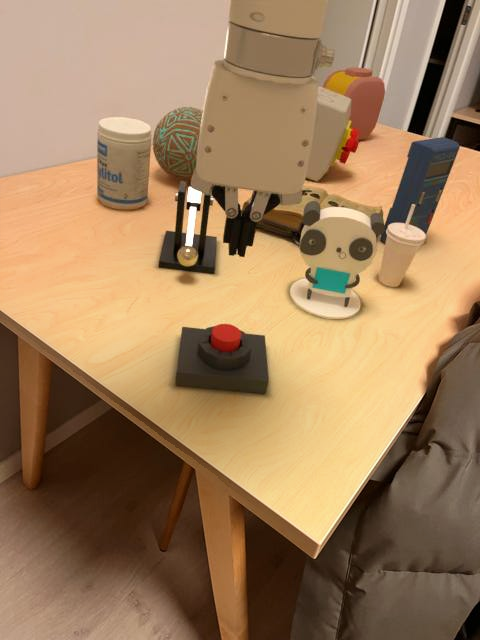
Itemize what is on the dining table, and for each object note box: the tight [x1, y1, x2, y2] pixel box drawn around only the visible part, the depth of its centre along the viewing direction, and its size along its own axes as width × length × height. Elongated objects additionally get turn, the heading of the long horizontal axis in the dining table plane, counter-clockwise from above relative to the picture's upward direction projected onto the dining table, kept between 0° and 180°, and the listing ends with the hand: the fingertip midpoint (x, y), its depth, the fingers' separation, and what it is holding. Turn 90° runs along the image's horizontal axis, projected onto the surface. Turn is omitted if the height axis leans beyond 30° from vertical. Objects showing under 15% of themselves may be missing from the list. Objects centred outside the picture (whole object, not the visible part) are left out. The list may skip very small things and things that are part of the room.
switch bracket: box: [158, 180, 218, 275], centre depth 86 cm, size 11×9×12 cm
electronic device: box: [380, 136, 461, 244], centre depth 101 cm, size 10×5×20 cm, turn 129°
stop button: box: [211, 323, 242, 352], centre depth 65 cm, size 4×4×2 cm
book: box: [241, 185, 384, 246], centre depth 103 cm, size 25×17×6 cm
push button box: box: [174, 325, 270, 395], centre depth 66 cm, size 11×9×4 cm
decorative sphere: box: [152, 106, 203, 182], centre depth 112 cm, size 15×15×15 cm
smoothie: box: [378, 204, 427, 288], centre depth 88 cm, size 6×6×14 cm
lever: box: [177, 186, 203, 266], centre depth 82 cm, size 13×3×3 cm
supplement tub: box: [96, 116, 152, 211], centre depth 99 cm, size 10×10×15 cm
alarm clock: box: [322, 67, 386, 141], centre depth 158 cm, size 18×11×19 cm, turn 130°
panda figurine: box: [289, 201, 385, 320], centre depth 80 cm, size 12×11×15 cm
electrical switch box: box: [305, 85, 360, 183], centre depth 128 cm, size 15×15×20 cm
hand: (236, 249), depth 54 cm, fingers closed
